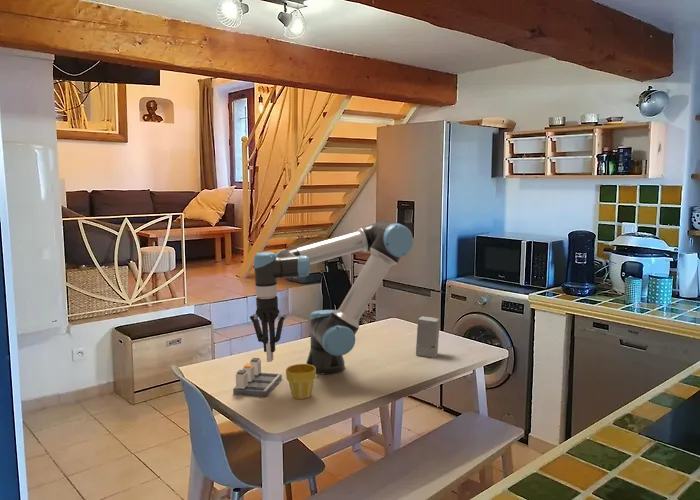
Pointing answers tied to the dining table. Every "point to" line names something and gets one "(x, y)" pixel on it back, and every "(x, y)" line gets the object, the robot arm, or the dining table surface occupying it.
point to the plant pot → (301, 380)
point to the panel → (260, 385)
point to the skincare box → (427, 336)
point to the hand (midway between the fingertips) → (270, 360)
